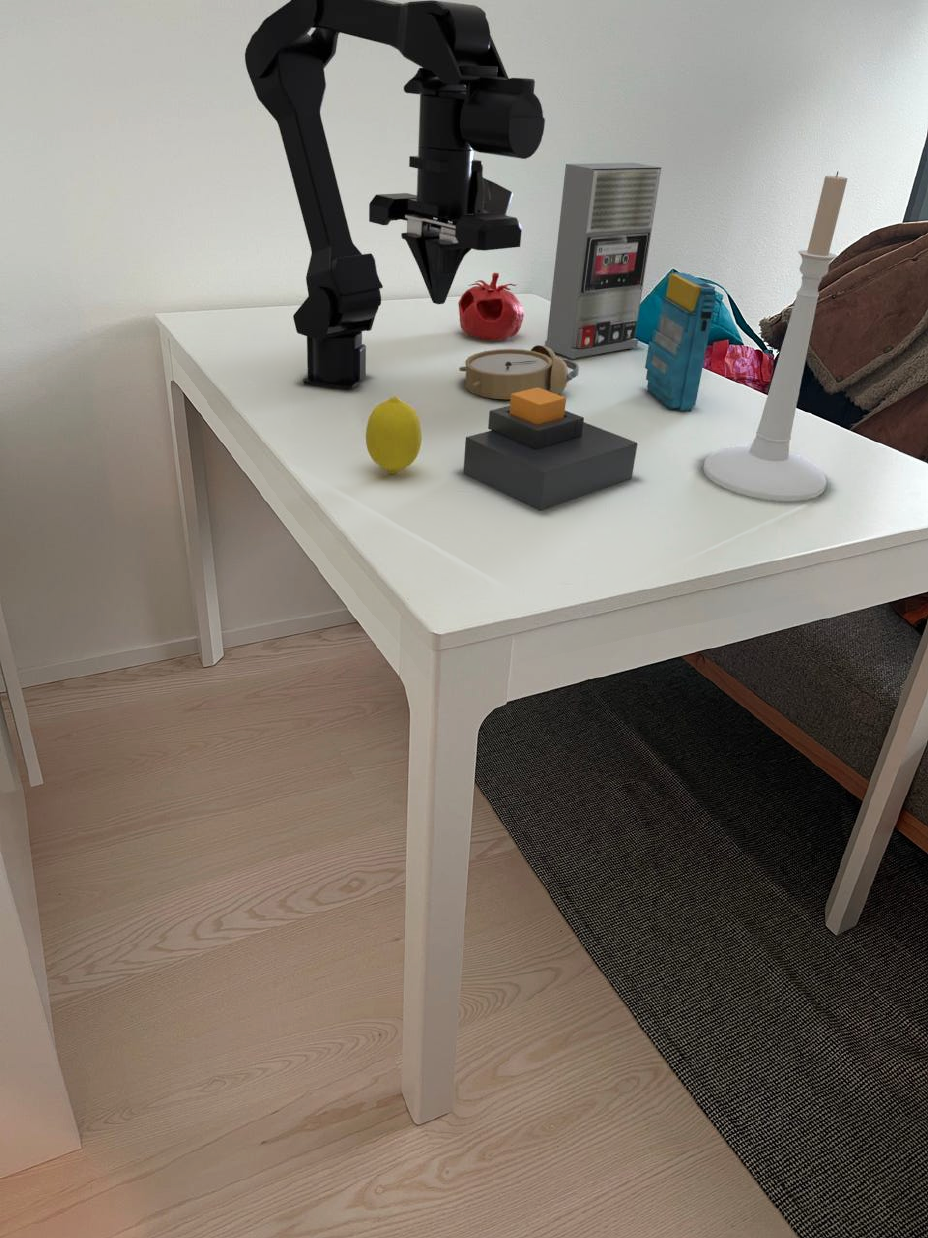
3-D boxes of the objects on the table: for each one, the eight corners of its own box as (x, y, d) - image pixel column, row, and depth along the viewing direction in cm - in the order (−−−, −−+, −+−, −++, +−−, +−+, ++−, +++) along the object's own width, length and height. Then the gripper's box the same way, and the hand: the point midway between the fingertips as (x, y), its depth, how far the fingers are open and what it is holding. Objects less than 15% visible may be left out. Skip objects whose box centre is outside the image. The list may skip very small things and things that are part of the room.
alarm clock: (454, 353, 125) (562, 332, 127) (458, 389, 127) (564, 368, 129) (474, 379, 115) (591, 356, 117) (478, 417, 118) (592, 394, 120)
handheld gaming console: (698, 412, 119) (722, 289, 112) (667, 412, 118) (689, 288, 111) (667, 387, 127) (688, 271, 120) (639, 388, 126) (658, 271, 119)
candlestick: (681, 474, 101) (742, 165, 85) (735, 445, 110) (799, 160, 94) (795, 512, 94) (883, 183, 79) (843, 478, 103) (930, 176, 87)
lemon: (399, 489, 93) (401, 410, 89) (354, 474, 95) (354, 397, 91) (430, 472, 97) (434, 396, 93) (386, 459, 99) (388, 384, 95)
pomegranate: (486, 323, 151) (491, 262, 146) (534, 338, 145) (540, 275, 140) (442, 332, 145) (446, 268, 140) (490, 347, 139) (495, 282, 134)
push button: (460, 472, 97) (463, 416, 94) (552, 445, 106) (558, 393, 103) (540, 511, 91) (547, 452, 87) (631, 478, 99) (641, 423, 96)
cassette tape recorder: (573, 360, 136) (597, 169, 123) (544, 350, 140) (564, 163, 127) (637, 349, 143) (666, 168, 131) (608, 339, 147) (634, 162, 134)
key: (508, 415, 97) (510, 393, 96) (535, 408, 99) (538, 386, 98) (536, 427, 94) (539, 404, 93) (563, 419, 97) (566, 397, 95)
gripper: (565, 157, 96) (549, 313, 104) (444, 137, 108) (438, 279, 116) (486, 158, 90) (475, 325, 98) (366, 137, 101) (365, 288, 109)
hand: (438, 303), depth 105 cm, fingers closed
